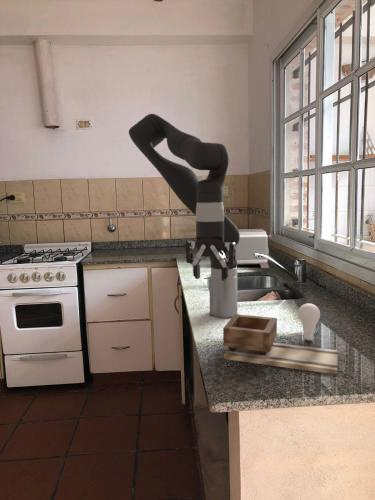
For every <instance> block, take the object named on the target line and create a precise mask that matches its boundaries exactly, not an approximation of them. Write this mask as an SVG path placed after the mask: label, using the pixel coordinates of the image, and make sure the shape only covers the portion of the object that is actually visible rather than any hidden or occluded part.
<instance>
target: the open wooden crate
mask: <svg viewBox="0 0 375 500" xmlns="http://www.w3.org/2000/svg"><path fill="white" fill-rule="evenodd" d="M277 326H278V318H277V317H269V316H259V315H248V314H240V313H239V314H238V313H237V314H234V316H233V317H230V319H229V320H228V321H227V323H226V324H225V326H223V327H222V330H223V331H222V333H223V334H222V335H223V339H222V340H223V341H222V342H223V346H222V347H226V348H228V347H229V350H230V351H235V350H236V348H241V349H249V350H257V351H259V353H260V354H261V355H265V354H266V353H267V352H270V350H271V347H272V345H273V343H275V340H276V338H277V335H278V327H277Z"/></svg>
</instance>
